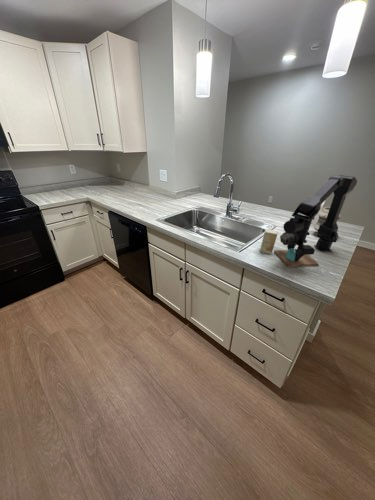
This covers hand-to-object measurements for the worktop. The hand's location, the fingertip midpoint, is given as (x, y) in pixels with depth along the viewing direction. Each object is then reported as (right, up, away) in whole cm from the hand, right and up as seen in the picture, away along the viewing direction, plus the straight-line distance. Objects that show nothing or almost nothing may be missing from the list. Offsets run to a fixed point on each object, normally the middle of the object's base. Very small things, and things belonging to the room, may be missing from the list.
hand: (292, 257), depth 100 cm
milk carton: (+40, +24, +48) cm, 67 cm away
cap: (0, 0, 0) cm, 0 cm away
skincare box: (-10, +3, +9) cm, 14 cm away
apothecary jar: (+34, +13, +29) cm, 46 cm away
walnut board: (+3, -1, +3) cm, 4 cm away
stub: (0, -1, 0) cm, 1 cm away
